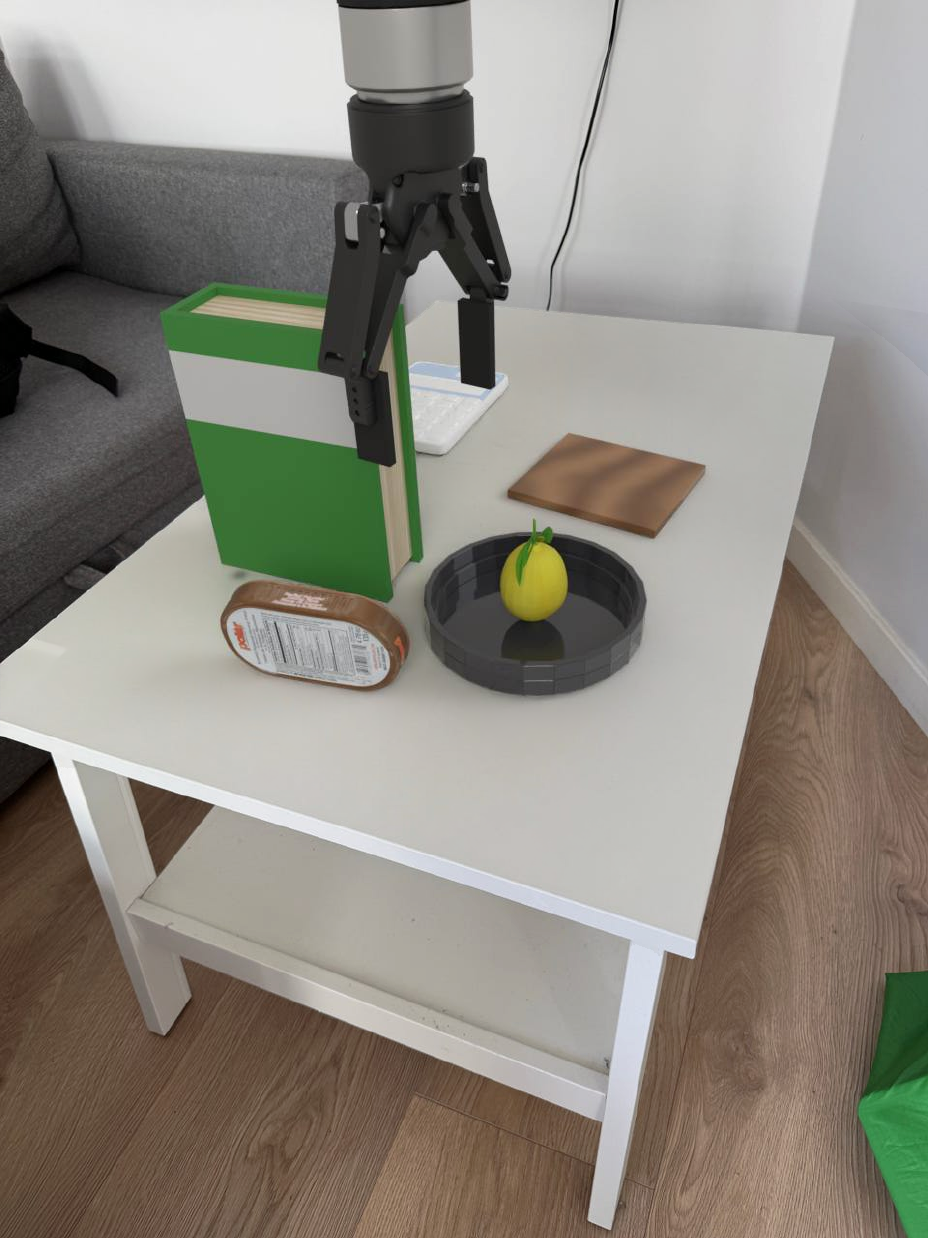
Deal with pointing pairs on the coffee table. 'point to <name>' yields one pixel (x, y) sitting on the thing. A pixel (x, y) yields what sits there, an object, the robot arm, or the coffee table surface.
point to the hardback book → (291, 442)
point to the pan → (534, 650)
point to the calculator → (446, 405)
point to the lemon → (534, 578)
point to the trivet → (609, 484)
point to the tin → (315, 635)
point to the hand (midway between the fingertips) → (431, 420)
